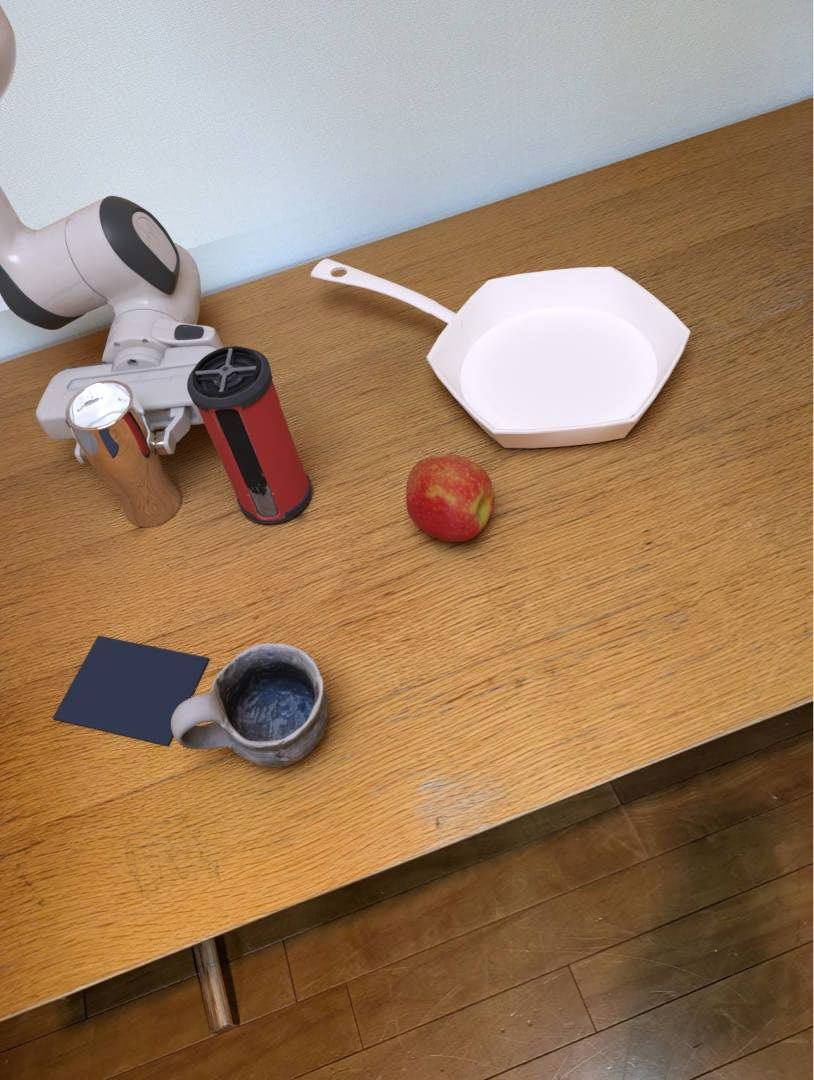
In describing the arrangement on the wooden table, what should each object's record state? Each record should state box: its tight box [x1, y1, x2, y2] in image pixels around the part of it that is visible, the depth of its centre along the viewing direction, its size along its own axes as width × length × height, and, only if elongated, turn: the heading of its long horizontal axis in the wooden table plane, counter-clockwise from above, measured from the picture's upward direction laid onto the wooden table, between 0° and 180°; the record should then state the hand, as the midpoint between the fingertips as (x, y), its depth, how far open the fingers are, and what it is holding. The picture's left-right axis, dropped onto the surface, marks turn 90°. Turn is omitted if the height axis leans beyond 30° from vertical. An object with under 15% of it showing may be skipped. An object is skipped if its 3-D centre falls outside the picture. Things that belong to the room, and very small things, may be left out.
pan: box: [310, 258, 691, 449], centre depth 108 cm, size 28×43×7 cm, turn 58°
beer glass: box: [66, 380, 182, 528], centre depth 99 cm, size 7×7×15 cm
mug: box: [171, 642, 329, 768], centre depth 81 cm, size 10×12×10 cm
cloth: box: [52, 635, 210, 747], centre depth 91 cm, size 12×9×1 cm
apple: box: [405, 453, 495, 543], centre depth 94 cm, size 8×8×8 cm
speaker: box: [187, 345, 313, 525], centre depth 95 cm, size 8×8×18 cm
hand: (124, 454), depth 98 cm, fingers closed on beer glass, 7 cm apart
